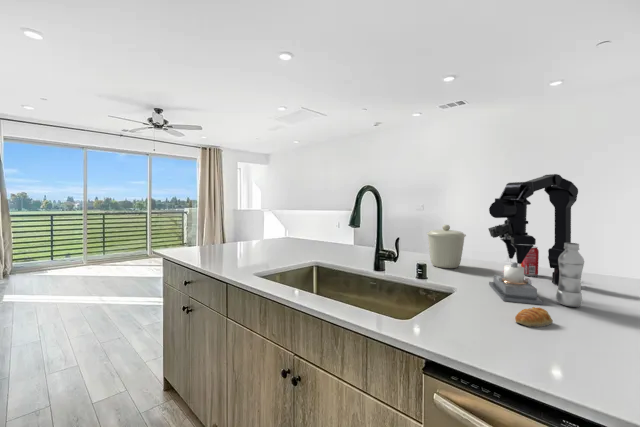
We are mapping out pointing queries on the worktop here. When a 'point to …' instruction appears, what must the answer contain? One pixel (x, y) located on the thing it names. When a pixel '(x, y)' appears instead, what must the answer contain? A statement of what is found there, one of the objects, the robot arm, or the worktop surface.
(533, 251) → the soda can
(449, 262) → the canister
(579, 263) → the plastic bottle
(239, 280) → the worktop surface
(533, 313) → the pastry
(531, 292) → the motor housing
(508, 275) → the white rounded piece
